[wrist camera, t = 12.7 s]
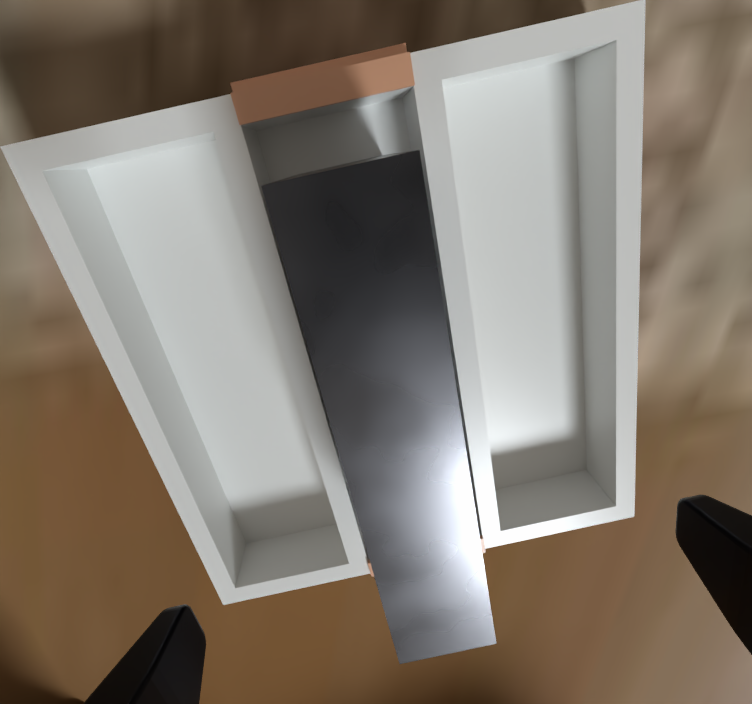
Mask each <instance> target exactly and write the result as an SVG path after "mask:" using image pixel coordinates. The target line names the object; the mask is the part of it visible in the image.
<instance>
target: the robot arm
mask: <svg viewBox="0 0 752 704" xmlns="http://www.w3.org/2000/svg"><path fill="white" fill-rule="evenodd" d="M676 538H677V541H678V543H679V545H680V547H681V549H682V550H683V552H684V553H685V555H686V557H687V558H688V560H689V561H690V563H691V565H692V566H693V568H694V569H695V571H696V572H697V574H698V576H699V577H700V579H701V580H702V582H703V583H704V585H705V587H706V588H707V590H708V591H709V593H710V594H711V596H712V598H713V599H714V601H715V602H716V604H717V606H718V607H719V609H720V610H721V612H722V613H723V615H724V617H725V618H726V620H727V621H728V623H729V624H730V626H731V627H732V629H733V630H734V632H735V633H736V634H737V636H738V637H739V638H740V640H741V641H742V642H743V644H744V645H745V647H746V648H747V649H748V651H749V652H750V653H751V654H752V516H751V515H749V514H747V513H745V512H742V511H740V510H738V509H736V508H734V507H731V506H729V505H727V504H725V503H722V502H720V501H718V500H716V499H713V498H711V497H709V496H706V495H696V496H691V497H687V498H682V499H680V501H679V502H678V505H677V518H676ZM205 649H206V639H205V634H204V632H203V630H202V628H201V626H200V624H199V622H198V620H197V618H196V616H195V615H194V613H193V611H192V609H191V608H190V607H189V606H188V605H180V606H175V607H170V608H167V609H165V610H163V611H162V612H161V613H160V614H159V615H158V617H157V618H156V619H155V620H154V621H153V622H152V624H151V625H150V626H149V627H148V628H147V630H146V631H145V632H144V633H143V634H142V635H141V637H140V638H139V639H138V640H137V641H136V642H135V644H134V645H133V646H132V647H131V648H130V649H129V651H128V652H127V653H126V654H125V655H124V656H123V658H122V659H121V660H120V661H119V662H118V664H117V665H116V666H115V667H114V668H113V669H112V671H111V672H110V673H109V674H108V675H107V676H106V678H105V679H104V680H103V681H102V682H101V683H100V685H99V686H98V687H97V688H96V689H95V691H94V692H93V693H92V694H91V695H90V696H89V698H88V699H87V700H86V701H85V702H84V703H83V704H199V700H200V691H201V683H202V674H203V666H204V658H205Z"/></svg>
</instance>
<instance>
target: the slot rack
mask: <svg viewBox="0 0 752 704" xmlns="http://www.w3.org/2000/svg"><path fill="white" fill-rule="evenodd" d="M644 42H645V0H640V1H635V2H631V3H627V4H622V5H618V6H613V7H609V8H605V9H600V10H596V11H592V12H587V13H583V14H578V15H574V16H570V17H565V18H561V19H557V20H552V21H548V22H543V23H539V24H535V25H530V26H526V27H522V28H517V29H513V30H508V31H504V32H500V33H495V34H491V35H487V36H482V37H478V38H473V39H469V40H465V41H460V42H456V43H452V44H447V45H443V46H438V47H434V48H430V49H425V50H421V51H417V52H412V53H410V52H407V48H406V43H402V44H398V45H394V46H389V47H385V48H381V49H376V50H372V51H367V52H363V53H359V54H354V55H350V56H346V57H341V58H337V59H332V60H328V61H324V62H319V63H315V64H311V65H306V66H302V67H297V68H293V69H289V70H284V71H280V72H276V73H271V74H267V75H263V76H258V77H254V78H249V79H245V80H241V81H236V82H232V83H230V84H231V88H232V91H233V92H231V93H230V94H228V95H224V96H220V97H215V98H211V99H207V100H202V101H198V102H193V103H189V104H185V105H180V106H176V107H172V108H167V109H163V110H158V111H154V112H150V113H145V114H141V115H137V116H132V117H128V118H123V119H119V120H115V121H110V122H106V123H102V124H97V125H93V126H88V127H84V128H80V129H75V130H71V131H67V132H62V133H58V134H53V135H49V136H45V137H40V138H36V139H32V140H27V141H23V142H18V143H14V144H10V145H5V146H1V149H2V151H3V153H4V155H5V157H6V159H7V162H8V164H9V166H10V168H11V170H12V172H13V174H14V176H15V178H16V180H17V182H18V184H19V186H20V188H21V190H22V192H23V194H24V196H25V199H26V201H27V203H28V205H29V207H30V209H31V211H32V213H33V215H34V217H35V219H36V221H37V223H38V225H39V227H40V229H41V231H42V233H43V235H44V238H45V240H46V242H47V244H48V246H49V248H50V250H51V252H52V254H53V256H54V258H55V260H56V262H57V264H58V266H59V268H60V270H61V272H62V275H63V277H64V279H65V281H66V283H67V285H68V287H69V289H70V291H71V293H72V295H73V297H74V299H75V301H76V303H77V305H78V307H79V309H80V311H81V314H82V316H83V318H84V320H85V322H86V324H87V326H88V328H89V330H90V332H91V334H92V336H93V338H94V340H95V342H96V344H97V346H98V348H99V351H100V353H101V355H102V357H103V359H104V361H105V363H106V365H107V367H108V369H109V371H110V373H111V375H112V377H113V379H114V381H115V383H116V385H117V387H118V390H119V392H120V394H121V396H122V398H123V400H124V402H125V404H126V406H127V408H128V410H129V412H130V414H131V416H132V418H133V420H134V422H135V424H136V427H137V429H138V431H139V433H140V435H141V437H142V439H143V441H144V443H145V445H146V447H147V449H148V451H149V453H150V455H151V457H152V459H153V461H154V463H155V466H156V468H157V470H158V472H159V474H160V476H161V478H162V480H163V482H164V484H165V486H166V488H167V490H168V492H169V494H170V496H171V498H172V500H173V503H174V505H175V507H176V509H177V511H178V513H179V515H180V517H181V519H182V521H183V523H184V525H185V527H186V529H187V531H188V533H189V535H190V537H191V539H192V542H193V544H194V546H195V548H196V550H197V552H198V554H199V556H200V558H201V560H202V562H203V564H204V566H205V568H206V570H207V572H208V574H209V576H210V579H211V581H212V583H213V585H214V587H215V589H216V591H217V593H218V595H219V597H220V599H221V601H222V603H223V605H225V604H230V603H235V602H239V601H244V600H249V599H253V598H258V597H263V596H267V595H272V594H277V593H281V592H286V591H291V590H295V589H300V588H304V587H309V586H314V585H318V584H323V583H328V582H332V581H337V580H342V579H346V578H351V577H356V576H360V575H365V574H370V573H371V576H372V577H374V573H373V570H372V566H371V563H370V560H369V556H368V553H367V549H366V546H365V542H364V539H363V535H362V532H361V528H360V525H359V522H358V518H357V515H356V511H355V508H354V504H353V501H352V497H351V494H350V491H349V487H348V484H347V480H346V477H345V473H344V470H343V466H342V463H341V459H340V456H339V453H338V449H337V446H336V442H335V439H334V435H333V432H332V428H331V425H330V421H329V418H328V415H327V411H326V408H325V404H324V401H323V397H322V394H321V390H320V387H319V383H318V380H317V377H316V373H315V370H314V366H313V363H312V359H311V356H310V352H309V349H308V346H307V342H306V339H305V335H304V332H303V328H302V325H301V321H300V318H299V314H298V311H297V308H296V304H295V301H294V297H293V294H292V290H291V287H290V283H289V280H288V276H287V273H286V270H285V266H284V263H283V259H282V256H281V252H280V249H279V245H278V242H277V238H276V235H275V232H274V228H273V225H272V221H271V218H270V214H269V211H268V207H267V204H266V201H265V197H264V194H263V190H262V187H261V186H262V185H265V184H268V183H271V182H275V181H278V180H281V179H284V178H288V177H291V176H294V175H297V174H302V173H306V172H310V171H315V170H319V169H324V168H328V167H332V166H337V165H341V164H346V163H350V162H354V161H359V160H363V159H368V158H372V157H377V156H381V155H387V154H394V153H401V152H408V151H415V150H420V156H421V163H422V169H423V176H424V182H425V189H426V195H427V201H428V208H429V214H430V221H431V227H432V234H433V240H434V246H435V253H436V259H437V266H438V272H439V278H440V285H441V291H442V298H443V304H444V311H445V317H446V323H447V330H448V336H449V343H450V349H451V355H452V362H453V368H454V375H455V381H456V388H457V394H458V400H459V407H460V413H461V420H462V426H463V433H464V439H465V445H466V452H467V458H468V465H469V471H470V477H471V484H472V490H473V497H474V503H475V510H476V516H477V522H478V529H479V535H480V542H481V548H482V553H485V549H486V548H491V547H495V546H500V545H504V544H509V543H514V542H518V541H523V540H528V539H532V538H537V537H542V536H546V535H551V534H556V533H560V532H565V531H570V530H574V529H579V528H584V527H588V526H593V525H597V524H602V523H607V522H611V521H616V520H621V519H625V518H630V517H634V508H635V461H636V415H637V368H638V321H639V275H640V228H641V182H642V135H643V88H644Z"/></svg>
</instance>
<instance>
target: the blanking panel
mask: <svg viewBox="0 0 752 704" xmlns="http://www.w3.org/2000/svg"><path fill="white" fill-rule="evenodd" d="M261 187H262V190H263V194H264V197H265V201H266V204H267V207H268V211H269V214H270V218H271V221H272V225H273V228H274V232H275V235H276V238H277V242H278V245H279V249H280V252H281V256H282V259H283V263H284V266H285V270H286V273H287V276H288V280H289V283H290V287H291V290H292V294H293V297H294V301H295V304H296V308H297V311H298V314H299V318H300V321H301V325H302V328H303V332H304V335H305V339H306V342H307V346H308V349H309V352H310V356H311V359H312V363H313V366H314V370H315V373H316V377H317V380H318V383H319V387H320V390H321V394H322V397H323V401H324V404H325V408H326V411H327V415H328V418H329V421H330V425H331V428H332V432H333V435H334V439H335V442H336V446H337V449H338V453H339V456H340V459H341V463H342V466H343V470H344V473H345V477H346V480H347V484H348V487H349V491H350V494H351V497H352V501H353V504H354V508H355V511H356V515H357V518H358V522H359V525H360V528H361V532H362V535H363V539H364V542H365V546H366V549H367V553H368V556H369V560H370V563H371V566H372V570H373V573H374V577H375V580H376V584H377V587H378V591H379V594H380V598H381V601H382V604H383V608H384V611H385V615H386V618H387V622H388V625H389V629H390V632H391V636H392V639H393V642H394V646H395V649H396V653H397V656H398V660H399V663H400V664H402V663H407V662H412V661H417V660H421V659H426V658H431V657H435V656H440V655H445V654H449V653H454V652H459V651H464V650H468V649H473V648H478V647H482V646H487V645H492V644H496V638H495V632H494V625H493V619H492V612H491V606H490V599H489V593H488V587H487V580H486V574H485V567H484V561H483V554H482V548H481V542H480V535H479V529H478V522H477V516H476V510H475V503H474V497H473V490H472V484H471V477H470V471H469V465H468V458H467V452H466V445H465V439H464V433H463V426H462V420H461V413H460V407H459V400H458V394H457V388H456V381H455V375H454V368H453V362H452V355H451V349H450V343H449V336H448V330H447V323H446V317H445V311H444V304H443V298H442V291H441V285H440V278H439V272H438V266H437V259H436V253H435V246H434V240H433V234H432V227H431V221H430V214H429V208H428V201H427V195H426V189H425V182H424V176H423V169H422V163H421V156H420V150H415V151H408V152H401V153H394V154H387V155H381V156H377V157H372V158H368V159H363V160H359V161H354V162H350V163H346V164H341V165H337V166H332V167H328V168H324V169H319V170H315V171H310V172H306V173H302V174H297V175H294V176H291V177H288V178H284V179H281V180H278V181H275V182H271V183H268V184H265V185H262V186H261Z"/></svg>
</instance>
